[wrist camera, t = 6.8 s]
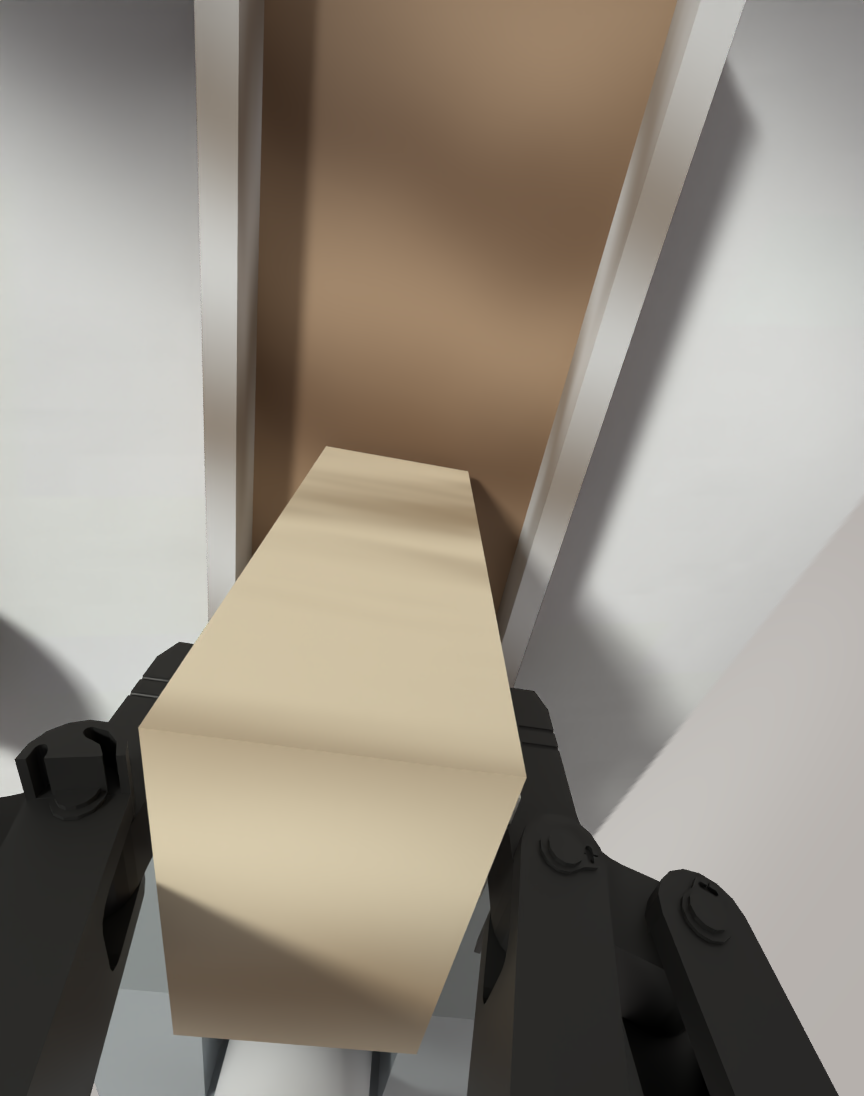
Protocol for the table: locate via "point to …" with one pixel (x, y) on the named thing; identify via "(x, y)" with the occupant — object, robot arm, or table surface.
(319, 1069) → the plunger
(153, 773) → the beige wooden block
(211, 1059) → the cabinet
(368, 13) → the rail board
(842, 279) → the table surface
